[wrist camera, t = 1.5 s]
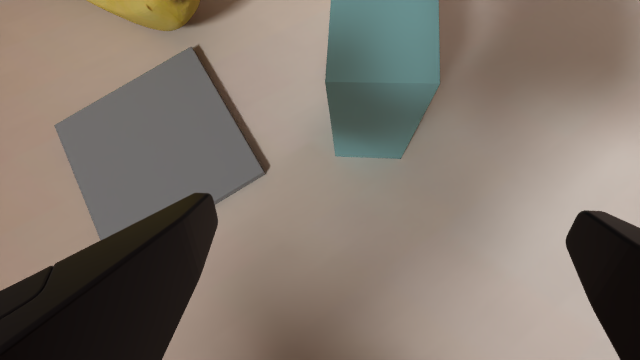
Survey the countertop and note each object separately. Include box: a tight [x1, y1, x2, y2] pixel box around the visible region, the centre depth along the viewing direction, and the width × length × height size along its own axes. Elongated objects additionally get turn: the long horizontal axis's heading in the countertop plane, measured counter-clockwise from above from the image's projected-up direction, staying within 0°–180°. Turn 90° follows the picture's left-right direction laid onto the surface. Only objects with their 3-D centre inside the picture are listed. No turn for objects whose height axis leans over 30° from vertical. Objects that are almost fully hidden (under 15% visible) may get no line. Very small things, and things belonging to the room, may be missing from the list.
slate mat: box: [54, 47, 265, 240], centre depth 24 cm, size 12×12×1 cm
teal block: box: [325, 0, 440, 159], centre depth 18 cm, size 4×4×10 cm
